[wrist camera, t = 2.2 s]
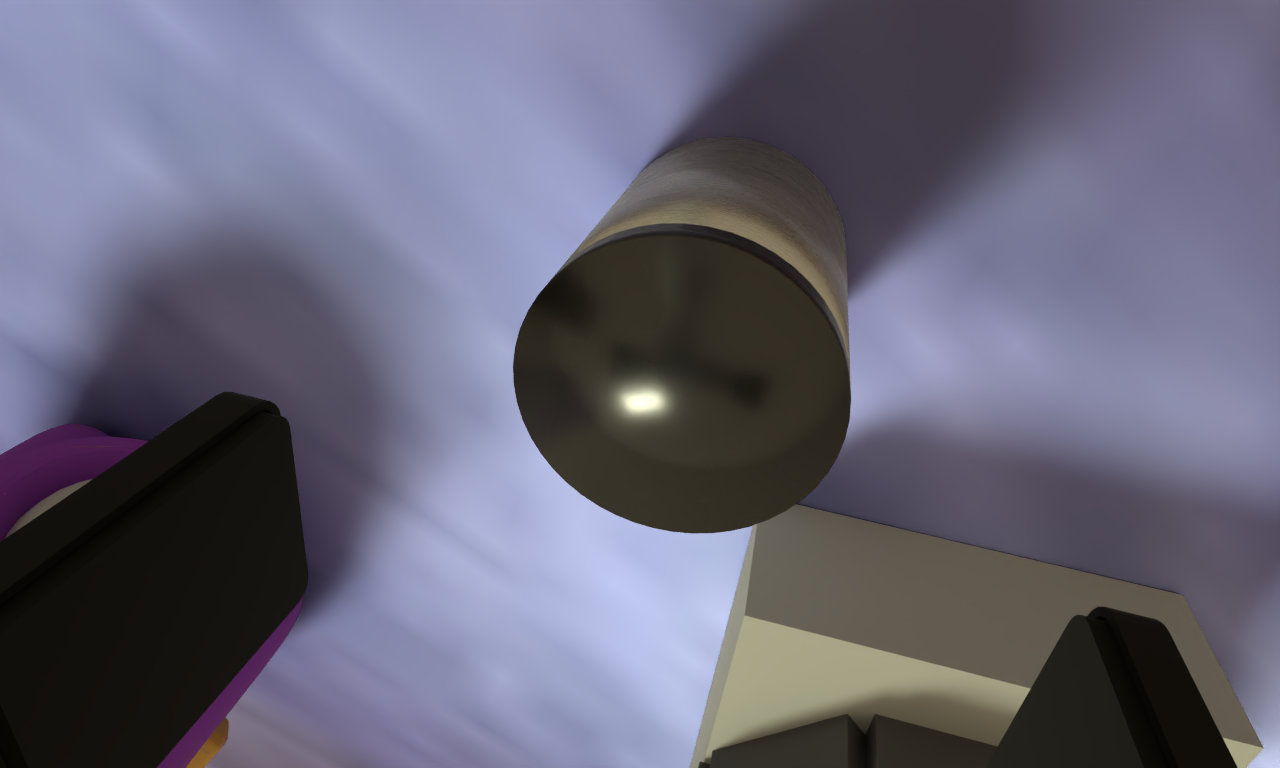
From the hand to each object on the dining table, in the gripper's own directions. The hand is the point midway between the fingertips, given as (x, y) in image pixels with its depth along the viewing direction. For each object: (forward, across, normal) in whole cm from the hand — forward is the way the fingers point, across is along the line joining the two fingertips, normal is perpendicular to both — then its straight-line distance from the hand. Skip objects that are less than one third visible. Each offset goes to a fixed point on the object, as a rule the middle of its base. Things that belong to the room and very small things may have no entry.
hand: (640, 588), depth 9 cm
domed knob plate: (+9, -7, +12) cm, 17 cm away
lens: (+9, 0, -1) cm, 9 cm away
